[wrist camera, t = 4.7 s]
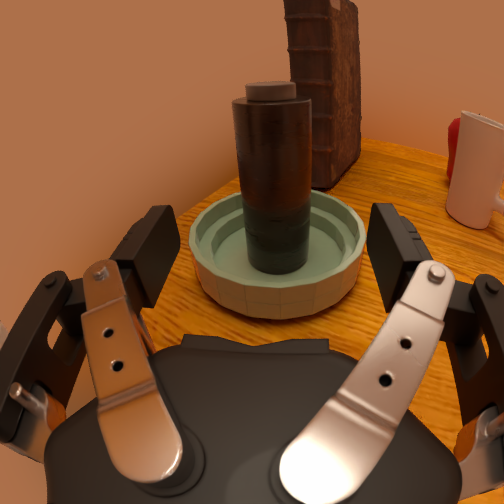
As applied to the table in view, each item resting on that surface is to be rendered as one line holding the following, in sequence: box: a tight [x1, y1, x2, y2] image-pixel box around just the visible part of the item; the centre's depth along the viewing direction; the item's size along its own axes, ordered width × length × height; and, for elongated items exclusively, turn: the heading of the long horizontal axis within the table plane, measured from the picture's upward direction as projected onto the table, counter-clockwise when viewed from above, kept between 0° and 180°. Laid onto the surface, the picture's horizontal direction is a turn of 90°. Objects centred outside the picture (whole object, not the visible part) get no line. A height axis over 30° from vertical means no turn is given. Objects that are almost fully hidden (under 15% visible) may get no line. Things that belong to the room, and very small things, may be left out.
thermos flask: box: [232, 81, 312, 275], centre depth 19 cm, size 5×5×13 cm
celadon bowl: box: [188, 190, 366, 320], centre depth 22 cm, size 13×13×4 cm
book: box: [283, 0, 362, 189], centre depth 31 cm, size 17×7×25 cm, turn 144°
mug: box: [446, 111, 504, 229], centre depth 22 cm, size 10×7×12 cm, turn 22°
